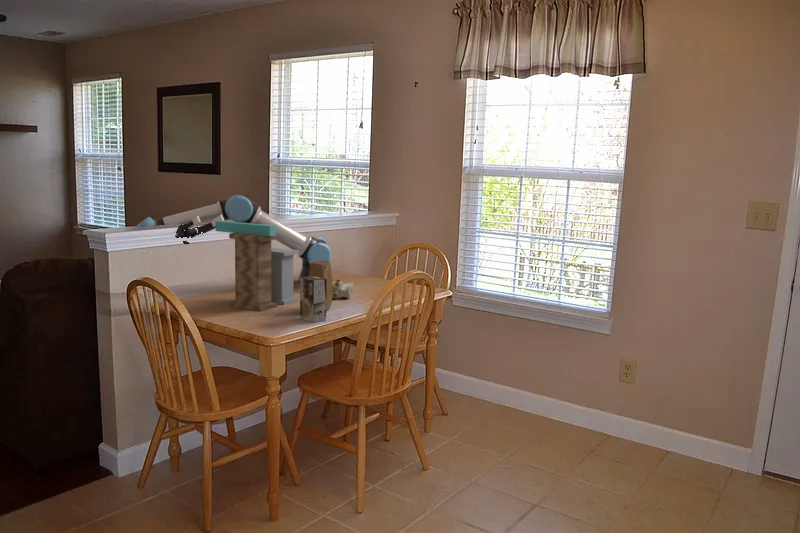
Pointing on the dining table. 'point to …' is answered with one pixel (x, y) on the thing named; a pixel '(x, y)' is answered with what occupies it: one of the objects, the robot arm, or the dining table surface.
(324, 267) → the brown bread chunk
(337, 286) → the ceramic sculpture
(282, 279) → the low stand
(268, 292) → the tall stand
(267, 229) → the bar
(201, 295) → the dining table surface
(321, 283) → the coffee box
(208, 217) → the robot arm
